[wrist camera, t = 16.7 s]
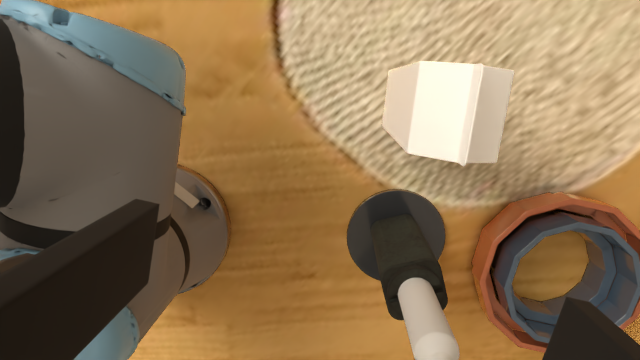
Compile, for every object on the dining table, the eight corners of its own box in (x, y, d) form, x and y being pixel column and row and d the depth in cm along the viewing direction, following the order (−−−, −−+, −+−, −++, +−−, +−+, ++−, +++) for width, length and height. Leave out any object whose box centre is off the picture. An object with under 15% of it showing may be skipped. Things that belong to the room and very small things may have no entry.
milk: (381, 126, 47) (411, 163, 26) (388, 68, 46) (427, 57, 24) (437, 132, 47) (515, 174, 25) (446, 74, 46) (537, 68, 24)
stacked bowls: (450, 310, 51) (465, 342, 45) (494, 173, 48) (517, 187, 41) (590, 342, 51) (625, 378, 45) (644, 208, 48) (690, 227, 41)
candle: (423, 253, 49) (503, 419, 25) (378, 263, 50) (415, 436, 25) (413, 211, 48) (486, 341, 24) (368, 222, 49) (395, 359, 24)
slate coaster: (337, 269, 51) (337, 271, 50) (359, 179, 48) (359, 180, 48) (429, 290, 51) (430, 292, 50) (456, 201, 48) (457, 202, 48)
